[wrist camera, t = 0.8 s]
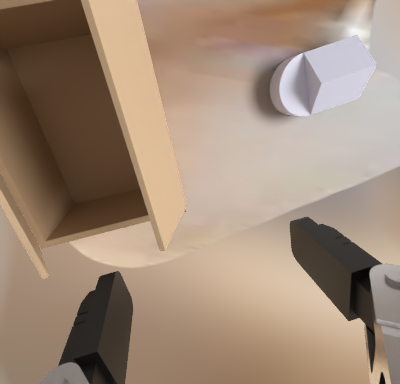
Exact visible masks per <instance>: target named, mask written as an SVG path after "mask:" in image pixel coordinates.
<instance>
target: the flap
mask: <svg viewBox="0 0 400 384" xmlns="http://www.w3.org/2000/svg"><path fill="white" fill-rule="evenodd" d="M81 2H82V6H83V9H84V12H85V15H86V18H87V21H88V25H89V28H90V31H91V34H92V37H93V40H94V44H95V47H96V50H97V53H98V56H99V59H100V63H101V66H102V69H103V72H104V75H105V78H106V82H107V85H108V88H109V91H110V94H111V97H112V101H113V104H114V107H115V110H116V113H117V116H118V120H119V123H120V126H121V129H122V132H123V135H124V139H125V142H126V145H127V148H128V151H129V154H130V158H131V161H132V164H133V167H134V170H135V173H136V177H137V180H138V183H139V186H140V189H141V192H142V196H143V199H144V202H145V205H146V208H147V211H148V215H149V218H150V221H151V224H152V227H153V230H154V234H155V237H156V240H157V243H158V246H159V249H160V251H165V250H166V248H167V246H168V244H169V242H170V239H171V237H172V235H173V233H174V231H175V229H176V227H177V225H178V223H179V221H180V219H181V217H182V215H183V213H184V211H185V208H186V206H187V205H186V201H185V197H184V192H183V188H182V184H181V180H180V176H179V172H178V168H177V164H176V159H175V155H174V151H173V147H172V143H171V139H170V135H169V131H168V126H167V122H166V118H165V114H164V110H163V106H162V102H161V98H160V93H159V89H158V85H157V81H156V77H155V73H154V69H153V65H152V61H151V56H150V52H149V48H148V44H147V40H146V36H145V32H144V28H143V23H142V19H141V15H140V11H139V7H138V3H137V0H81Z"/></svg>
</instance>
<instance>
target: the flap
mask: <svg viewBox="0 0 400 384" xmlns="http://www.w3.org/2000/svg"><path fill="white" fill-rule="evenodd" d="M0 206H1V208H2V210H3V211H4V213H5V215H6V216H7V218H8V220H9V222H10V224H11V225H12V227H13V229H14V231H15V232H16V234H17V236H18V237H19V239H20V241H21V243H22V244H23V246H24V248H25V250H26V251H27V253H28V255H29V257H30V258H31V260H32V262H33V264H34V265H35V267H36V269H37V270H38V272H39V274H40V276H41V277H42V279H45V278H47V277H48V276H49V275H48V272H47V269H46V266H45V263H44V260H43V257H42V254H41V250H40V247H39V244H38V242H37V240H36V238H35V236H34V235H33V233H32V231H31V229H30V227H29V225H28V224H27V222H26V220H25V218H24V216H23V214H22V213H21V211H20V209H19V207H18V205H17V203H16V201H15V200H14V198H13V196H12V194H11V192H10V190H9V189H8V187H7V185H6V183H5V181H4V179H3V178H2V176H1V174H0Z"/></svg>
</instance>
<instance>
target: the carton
mask: <svg viewBox="0 0 400 384" xmlns="http://www.w3.org/2000/svg"><path fill="white" fill-rule="evenodd" d="M0 173H1V175H2V177H3V179H4V181H5V183H6V184H7V186H8V188H9V190H10V192H11V194H12V195H13V197H14V199H15V201H16V203H17V205H18V206H19V208H20V210H21V212H22V214H23V216H24V218H25V219H26V221H27V223H28V225H29V227H30V229H31V230H32V232H33V234H34V236H35V238H36V240H37V241H38V243H39V245H40V247H41V248H45V247H49V246H53V245H57V244H61V243H65V242H69V241H73V240H77V239H81V238H85V237H88V236H92V235H96V234H100V233H104V232H108V231H112V230H116V229H120V228H123V227H127V226H131V225H135V224H139V223H143V222H147V221H150V218H149V215H148V211H147V208H146V205H145V202H144V199H143V196H142V192H141V189H140V186H139V183H138V180H137V177H136V173H135V170H134V167H133V164H132V161H131V158H130V154H129V151H128V148H127V145H126V142H125V139H124V135H123V132H122V129H121V126H120V123H119V120H118V116H117V113H116V110H115V107H114V104H113V101H112V97H111V94H110V91H109V88H108V85H107V82H106V78H105V75H104V72H103V69H102V66H101V63H100V59H99V56H98V53H97V50H96V47H95V44H94V40H93V37H92V34H91V31H90V28H89V25H88V21H87V18H86V15H85V12H84V9H83V6H82V2H81V0H0ZM184 212H186V209H185V211H184Z"/></svg>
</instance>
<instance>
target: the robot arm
mask: <svg viewBox="0 0 400 384" xmlns="http://www.w3.org/2000/svg"><path fill="white" fill-rule="evenodd" d="M290 233H291V234H290V235H291V246H292V247H291V248H292V252H293V255H294V257H295V259H296V260H297V262H298V263H299V264H300V265H301V266H302V268H303V269H304V270H305V271H306V272H307V273H308V274H309V276H310V277H311V278H312V279H313V280H314V282H315V283H316V284H317V285H318V286H319V287H320V288H321V290H322V291H323V292H324V293H325V294H326V295H327V297H328V298H329V299H330V300H331V301H332V302H333V304H334V305H335V306H336V307H337V308H338V309H339V311H340V312H341V313H342V314H343V315H344V316H345V317H346V319H347V320H348V321H351V320H354V319H357V318H360V319H361V320H362V321H363V322H364V323H365V327H364V328H365V329H364V330H365V338H366V349H367V359H368V369H369V378H370V384H400V266H398V265H393V264H382V263H380V262H379V261H378V260H376V259H375V258H374V257H372V256H371V255H370V254H368V253H367V252H365V251H364V250H363V249H361V248H360V247H359V246H357V245H356V244H355V243H353V242H351V241H350V240H349V239H348V238H346V237H344V236H343V235H342V234H341V233H339V232H338V231H337V230H336V229H334V228H332V227H329V226H326V225H324V224H320V225H318V224H317V223H315V222H314V221H313V220H312V219H310V218H309V217H304V218H301V219H297V220H294V221H291V222H290ZM132 315H133V304H132V298H131V296H130V293H129V291H128V289H127V287H126V285H125V282H124V280H123V278H122V276H121V274H120V272H118V271H116V272H113V273H109V274H106V275H102V276H100V278H99V280H98V283H97V286H96V289H95V290H94V291H91V292H89V293H88V295H87V296H86V297H85V299H84V300H83V301H82V303H81V305H80V308H79V310H78V313H77V317H76V319H75V321H74V326H73V327H72V330H71V332H70V335H69V338H68V340H67V343H66V346H65V349H64V352H63V354H62V357H61V360H60V362H59V365H58V367H56V368H55V369H53V370H52V371H51V372H49V373H48V374H47V375H46V376H45V377H44V378H43V380H42V381H41V382H40V383H39V384H125V378H126V369H127V360H128V351H129V341H130V333H131V324H132Z"/></svg>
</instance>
